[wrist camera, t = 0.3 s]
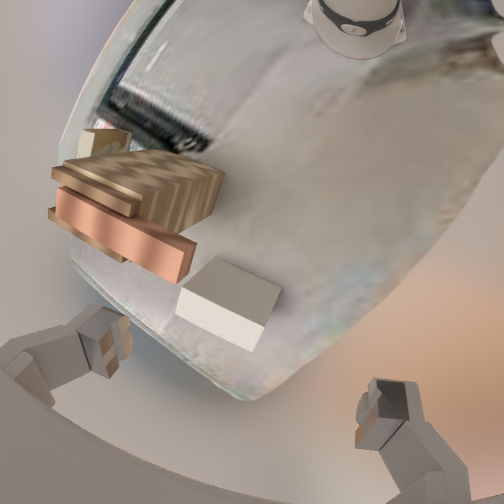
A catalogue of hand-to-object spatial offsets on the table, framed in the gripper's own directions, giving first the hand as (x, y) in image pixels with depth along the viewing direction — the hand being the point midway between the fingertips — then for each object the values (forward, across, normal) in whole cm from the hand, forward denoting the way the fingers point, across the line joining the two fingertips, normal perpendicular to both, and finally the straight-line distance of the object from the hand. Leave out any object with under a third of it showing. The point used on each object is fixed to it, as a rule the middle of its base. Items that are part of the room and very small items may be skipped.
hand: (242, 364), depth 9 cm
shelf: (+46, +10, +26) cm, 54 cm away
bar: (+22, +20, +7) cm, 31 cm away
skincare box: (+49, +41, +1) cm, 64 cm away
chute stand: (+48, +25, +7) cm, 54 cm away
